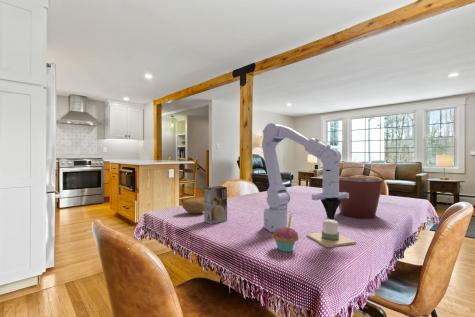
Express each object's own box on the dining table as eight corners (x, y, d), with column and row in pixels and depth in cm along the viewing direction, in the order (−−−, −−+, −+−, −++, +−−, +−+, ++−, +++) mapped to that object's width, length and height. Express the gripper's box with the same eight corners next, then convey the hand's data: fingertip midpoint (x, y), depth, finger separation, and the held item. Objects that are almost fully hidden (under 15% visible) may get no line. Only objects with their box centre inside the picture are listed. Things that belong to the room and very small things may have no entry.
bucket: (324, 213, 130) (325, 166, 130) (343, 207, 145) (344, 164, 144) (375, 223, 112) (376, 168, 112) (391, 215, 127) (391, 166, 126)
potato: (181, 212, 133) (180, 197, 133) (206, 210, 138) (206, 196, 138) (183, 216, 124) (183, 200, 124) (210, 214, 129) (210, 199, 129)
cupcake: (294, 244, 86) (294, 210, 86) (301, 254, 78) (301, 216, 78) (270, 244, 86) (270, 210, 86) (274, 254, 78) (274, 216, 77)
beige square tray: (326, 247, 83) (326, 230, 83) (306, 236, 95) (306, 221, 95) (355, 243, 87) (356, 227, 87) (333, 233, 98) (333, 218, 98)
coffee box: (219, 218, 121) (219, 185, 121) (227, 220, 116) (227, 186, 116) (203, 221, 116) (203, 187, 115) (211, 224, 111) (211, 188, 110)
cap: (328, 235, 88) (328, 223, 88) (320, 230, 92) (320, 220, 92) (340, 233, 89) (340, 222, 89) (331, 229, 94) (331, 219, 94)
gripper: (320, 183, 84) (320, 223, 85) (355, 182, 89) (354, 219, 89) (308, 181, 91) (308, 218, 91) (341, 180, 95) (341, 215, 96)
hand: (330, 218), depth 91 cm, fingers closed
